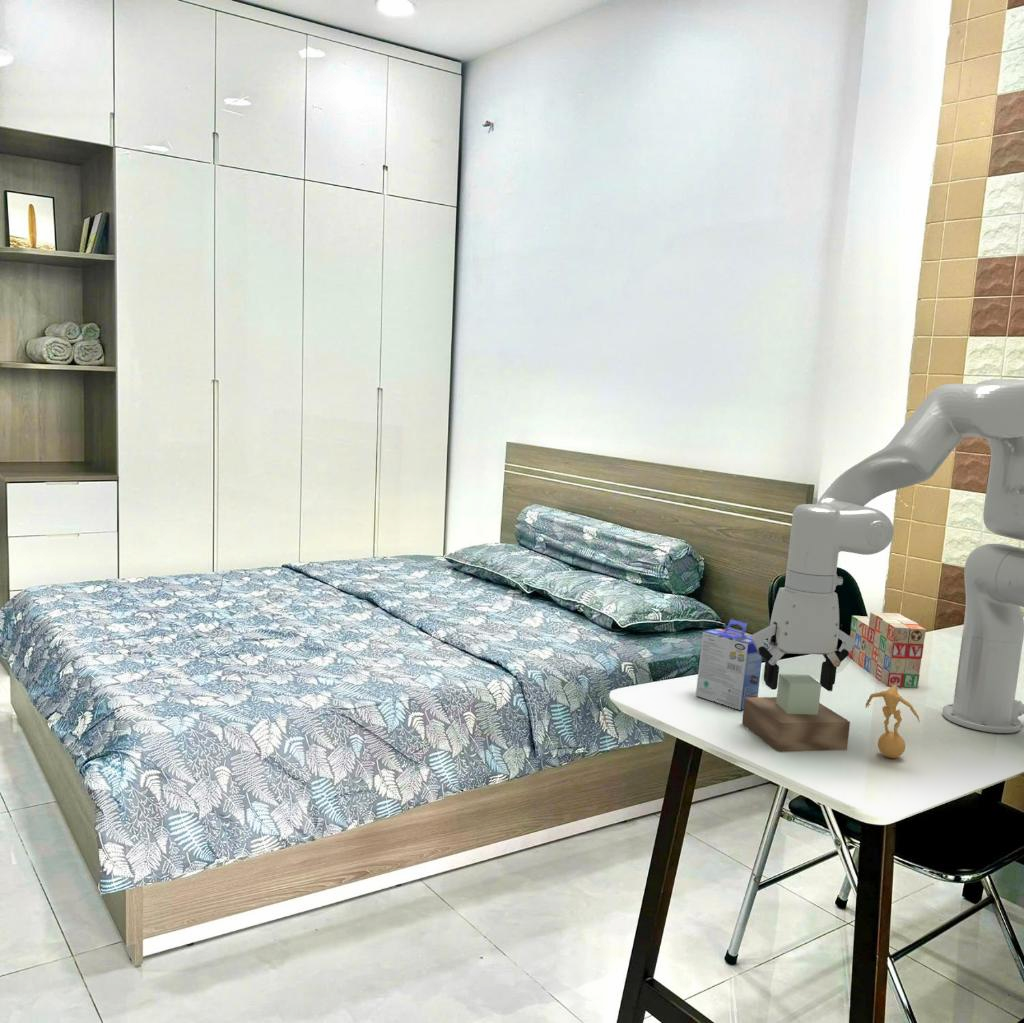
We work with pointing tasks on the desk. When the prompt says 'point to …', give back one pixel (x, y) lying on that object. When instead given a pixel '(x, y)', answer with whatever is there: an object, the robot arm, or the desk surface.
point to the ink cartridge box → (728, 666)
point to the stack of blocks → (888, 648)
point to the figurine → (889, 741)
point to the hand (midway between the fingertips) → (798, 687)
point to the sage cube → (798, 694)
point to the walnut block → (795, 727)
